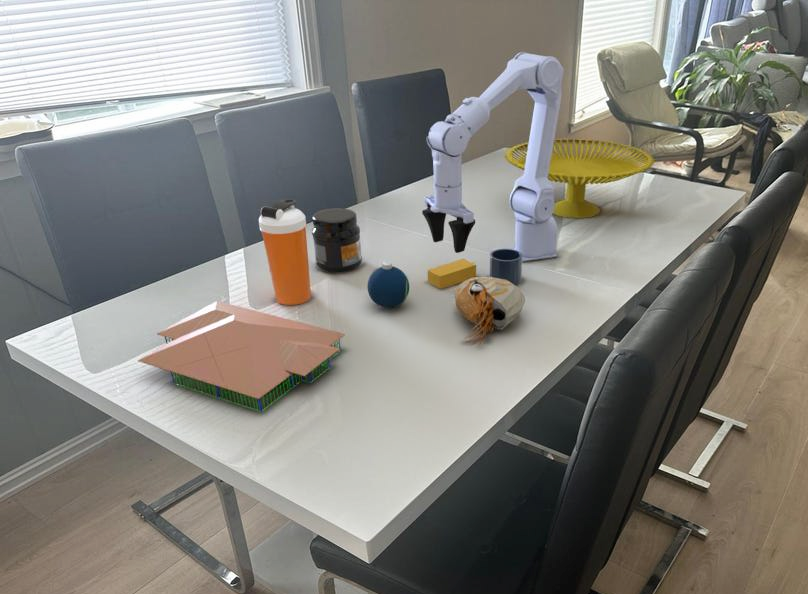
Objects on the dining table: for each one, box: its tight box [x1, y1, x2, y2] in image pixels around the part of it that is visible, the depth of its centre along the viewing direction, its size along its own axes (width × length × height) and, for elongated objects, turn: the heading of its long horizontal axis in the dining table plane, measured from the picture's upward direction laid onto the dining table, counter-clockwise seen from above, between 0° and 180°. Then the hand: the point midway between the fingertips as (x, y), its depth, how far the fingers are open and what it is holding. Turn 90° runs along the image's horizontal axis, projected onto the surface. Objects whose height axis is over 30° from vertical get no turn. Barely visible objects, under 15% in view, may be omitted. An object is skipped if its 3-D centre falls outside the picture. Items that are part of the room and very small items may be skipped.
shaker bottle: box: [258, 198, 312, 306], centre depth 138 cm, size 9×9×20 cm
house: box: [137, 300, 346, 413], centre depth 119 cm, size 23×33×8 cm
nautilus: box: [453, 276, 526, 347], centre depth 132 cm, size 8×22×15 cm
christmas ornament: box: [366, 260, 410, 309], centre depth 138 cm, size 8×8×10 cm
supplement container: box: [311, 207, 363, 274], centre depth 155 cm, size 10×10×12 cm
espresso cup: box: [488, 248, 523, 286], centre depth 150 cm, size 7×7×6 cm
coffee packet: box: [427, 258, 477, 290], centre depth 151 cm, size 10×4×3 cm, turn 130°
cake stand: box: [504, 138, 655, 219], centre depth 189 cm, size 40×40×15 cm
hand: (448, 246), depth 148 cm, fingers open, 7 cm apart
